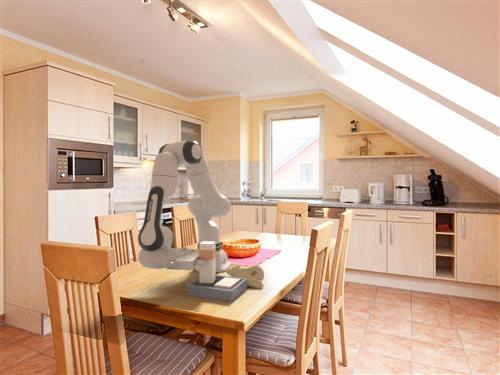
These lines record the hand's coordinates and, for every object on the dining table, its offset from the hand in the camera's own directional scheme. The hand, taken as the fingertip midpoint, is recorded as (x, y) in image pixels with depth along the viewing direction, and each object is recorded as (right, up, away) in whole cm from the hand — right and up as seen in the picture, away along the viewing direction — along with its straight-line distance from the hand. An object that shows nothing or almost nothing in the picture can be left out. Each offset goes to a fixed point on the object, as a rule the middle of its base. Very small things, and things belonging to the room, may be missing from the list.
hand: (209, 259), depth 131 cm
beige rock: (+15, -14, +7) cm, 21 cm away
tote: (+4, -14, -1) cm, 14 cm away
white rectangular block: (+8, -13, -3) cm, 15 cm away
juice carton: (-1, -9, 0) cm, 9 cm away
